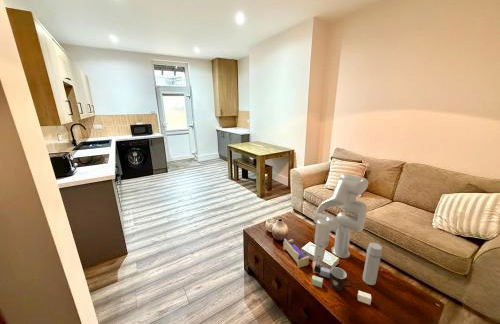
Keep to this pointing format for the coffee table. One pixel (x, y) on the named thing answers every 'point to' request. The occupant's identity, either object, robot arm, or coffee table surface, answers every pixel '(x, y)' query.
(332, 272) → the coffee mug
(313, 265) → the terracotta brick
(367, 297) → the cream brick
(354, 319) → the coffee table surface
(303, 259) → the toy sofa
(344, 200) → the robot arm
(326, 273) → the slate brick
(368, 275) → the water bottle
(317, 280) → the sage brick
